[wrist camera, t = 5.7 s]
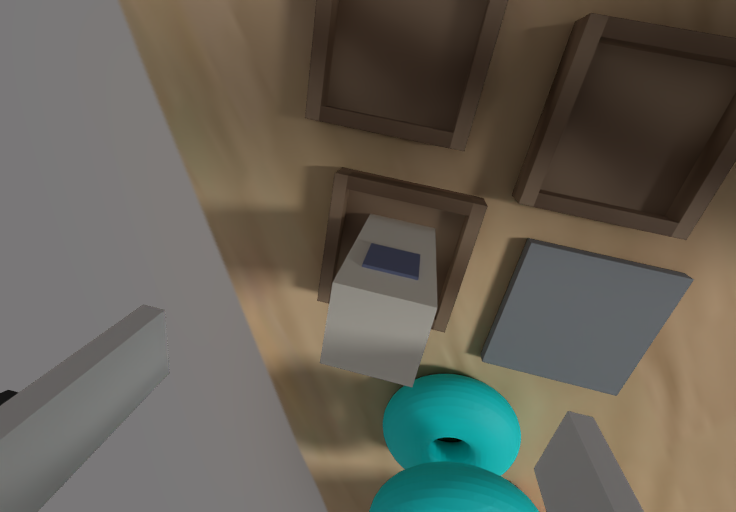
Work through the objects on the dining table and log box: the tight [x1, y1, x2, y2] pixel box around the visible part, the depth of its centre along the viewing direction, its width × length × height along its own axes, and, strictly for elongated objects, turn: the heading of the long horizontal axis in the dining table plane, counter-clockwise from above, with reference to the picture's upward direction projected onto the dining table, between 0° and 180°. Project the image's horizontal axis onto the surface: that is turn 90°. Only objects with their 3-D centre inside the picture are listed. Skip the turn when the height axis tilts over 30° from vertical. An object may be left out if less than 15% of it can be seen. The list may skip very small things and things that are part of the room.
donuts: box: [369, 374, 539, 512], centre depth 23 cm, size 10×10×10 cm
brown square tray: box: [512, 13, 736, 240], centre depth 17 cm, size 8×8×2 cm
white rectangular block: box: [320, 214, 437, 387], centre depth 18 cm, size 4×4×9 cm
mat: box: [481, 238, 694, 396], centre depth 22 cm, size 9×9×1 cm
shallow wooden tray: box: [305, 0, 508, 151], centre depth 17 cm, size 8×8×2 cm
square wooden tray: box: [317, 167, 488, 332], centre depth 22 cm, size 8×8×2 cm
